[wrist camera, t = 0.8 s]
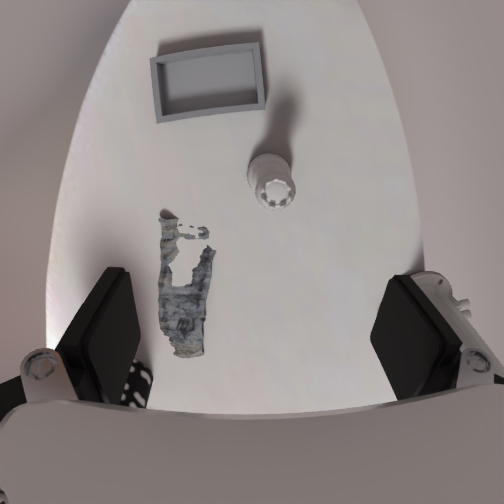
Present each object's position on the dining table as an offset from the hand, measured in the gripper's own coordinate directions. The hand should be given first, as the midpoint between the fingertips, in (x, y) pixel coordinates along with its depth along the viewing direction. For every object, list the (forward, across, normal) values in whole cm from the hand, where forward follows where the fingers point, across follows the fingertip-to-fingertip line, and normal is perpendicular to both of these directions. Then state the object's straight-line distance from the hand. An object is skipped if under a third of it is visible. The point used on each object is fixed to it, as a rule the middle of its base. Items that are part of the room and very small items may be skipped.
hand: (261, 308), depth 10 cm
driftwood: (+23, +6, +16) cm, 28 cm away
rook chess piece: (+22, -2, 0) cm, 23 cm away
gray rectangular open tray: (+22, +4, -9) cm, 25 cm away
